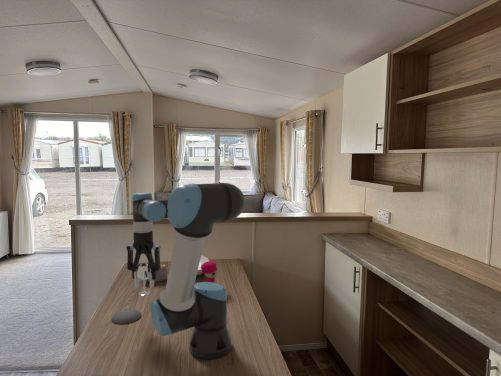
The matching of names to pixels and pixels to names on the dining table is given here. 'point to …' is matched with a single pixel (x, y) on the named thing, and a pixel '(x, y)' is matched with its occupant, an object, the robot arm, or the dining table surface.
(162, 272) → the food item
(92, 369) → the dining table surface
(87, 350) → the dining table surface
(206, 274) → the toy
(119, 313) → the coaster
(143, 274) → the wineglass
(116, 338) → the dining table surface
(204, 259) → the bowl
